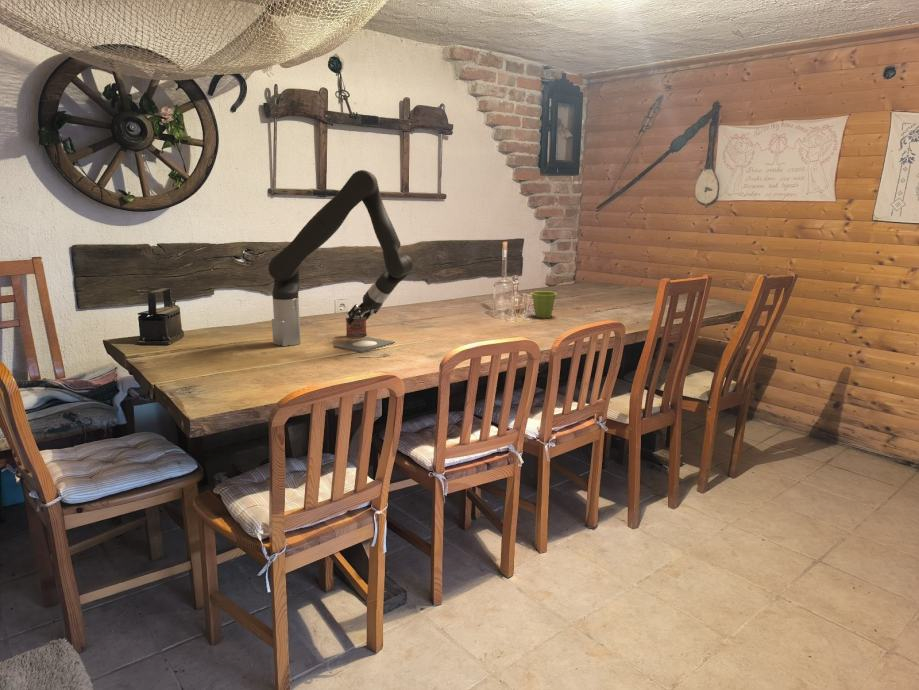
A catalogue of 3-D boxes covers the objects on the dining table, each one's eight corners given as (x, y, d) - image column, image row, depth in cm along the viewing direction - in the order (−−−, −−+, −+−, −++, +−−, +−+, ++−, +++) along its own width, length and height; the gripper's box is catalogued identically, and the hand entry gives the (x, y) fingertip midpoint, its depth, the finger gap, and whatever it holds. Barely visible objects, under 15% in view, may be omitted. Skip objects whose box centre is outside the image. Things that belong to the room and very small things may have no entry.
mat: (361, 352, 222) (361, 351, 222) (333, 347, 230) (333, 345, 230) (395, 343, 236) (394, 341, 236) (367, 338, 244) (367, 336, 244)
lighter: (346, 337, 245) (345, 312, 242) (345, 335, 248) (344, 311, 246) (367, 336, 247) (366, 311, 245) (366, 334, 250) (365, 310, 248)
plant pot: (542, 313, 298) (543, 290, 295) (561, 317, 289) (562, 293, 286) (524, 316, 290) (525, 292, 288) (543, 320, 282) (544, 295, 279)
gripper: (384, 285, 243) (363, 310, 253) (358, 289, 232) (337, 316, 241) (394, 299, 242) (373, 325, 251) (369, 305, 230) (348, 331, 239)
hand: (356, 320), depth 246 cm, fingers open, 8 cm apart
